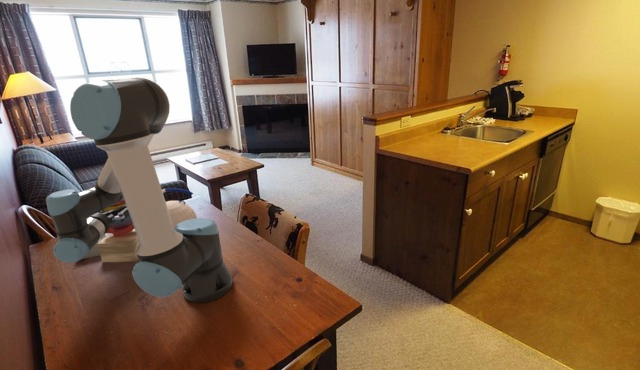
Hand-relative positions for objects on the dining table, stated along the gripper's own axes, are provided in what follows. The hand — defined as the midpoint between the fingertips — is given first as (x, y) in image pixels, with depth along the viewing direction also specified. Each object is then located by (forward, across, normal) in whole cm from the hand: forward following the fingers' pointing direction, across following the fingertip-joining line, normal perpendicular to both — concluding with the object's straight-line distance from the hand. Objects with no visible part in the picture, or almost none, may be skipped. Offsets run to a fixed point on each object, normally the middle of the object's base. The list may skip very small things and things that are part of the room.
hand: (121, 200), depth 128 cm
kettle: (+14, +12, -20) cm, 28 cm away
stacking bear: (-5, 0, -10) cm, 11 cm away
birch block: (-5, 0, -20) cm, 21 cm away
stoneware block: (-1, -15, -20) cm, 25 cm away
